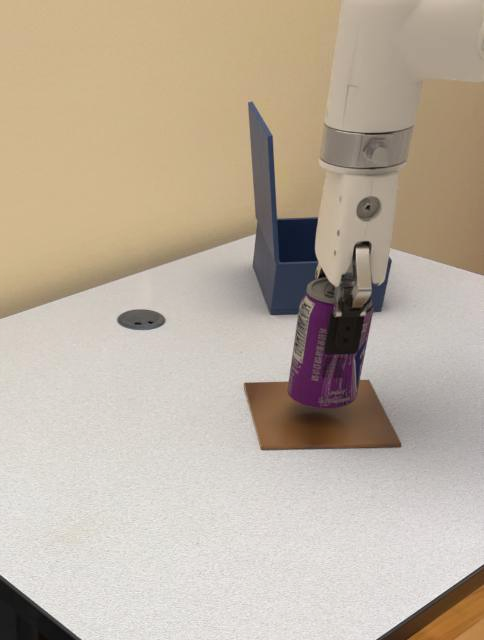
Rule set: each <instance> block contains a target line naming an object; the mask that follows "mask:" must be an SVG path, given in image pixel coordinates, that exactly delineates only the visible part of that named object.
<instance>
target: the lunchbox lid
mask: <svg viewBox="0 0 484 640" xmlns="http://www.w3.org/2000/svg"><path fill="white" fill-rule="evenodd" d="M247 109H248V110H247V111H248V124H249V125H248V126H249V140H250V155H251V169H252V183H253V199H254V213H255V219H256V221H258V224H259V226H260V228H261V231H262V233H263V235H264V238H265V240H266V243H267V245H268V247H269V250H270V252H271V254H272V257H273V259H274V261H279V246H278V226H277V219H278V210H277V193H276V192H277V191H276V173H275V171H276V170H275V156H274V155H275V152H274V136H273V133H272V131H271V130H270V129H269V127H268V125H267V124H266V122H265V120H264V118H263V117H262V115H261V113H260V111H259V110H258V107H256V105H255V103H254V102H253V101H248V102H247Z"/></svg>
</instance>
